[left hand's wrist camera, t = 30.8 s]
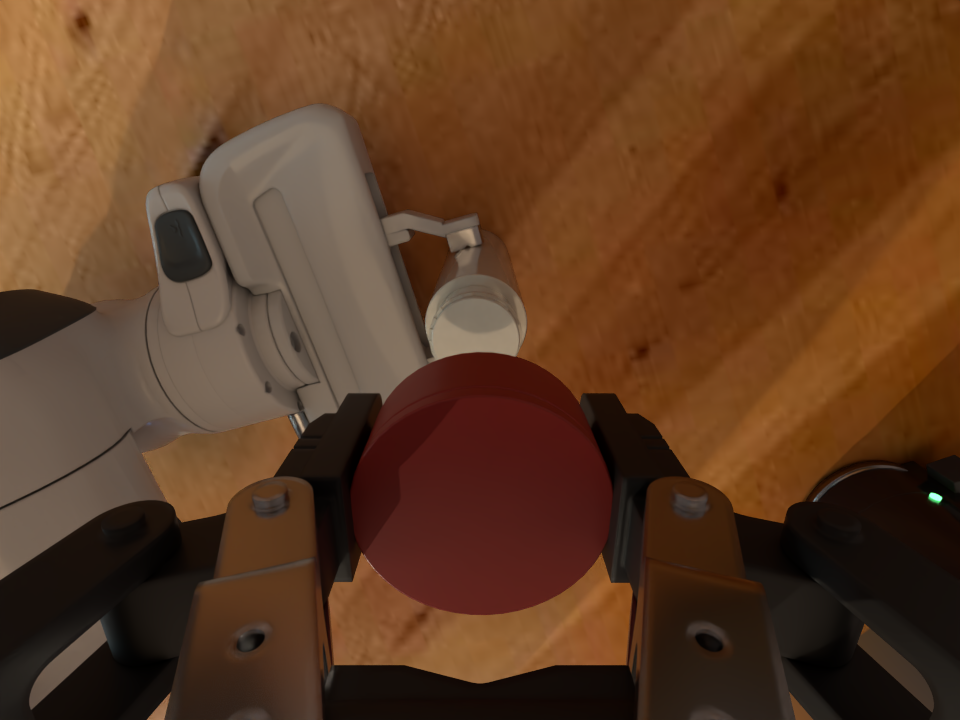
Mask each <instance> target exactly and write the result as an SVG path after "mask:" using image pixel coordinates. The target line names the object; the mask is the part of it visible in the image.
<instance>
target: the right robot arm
mask: <svg viewBox="0 0 960 720" xmlns="http://www.w3.org/2000/svg"><path fill="white" fill-rule="evenodd" d="M146 211H147V217H148V222H149V227H150V232H151V237H152V243H153V248H154V254H155V260H156V267H157V274H158V282H159V286H157V287H156V288H154V289H153V290H151V291H150V292H148V293H147V294H145V295H144V296H142V297H140V298H137V299H133V300H105V301H100V302H96V303H92V304H88V303H85V302H83V301H80V300H77V299H73V298H69V297H65V296H61V295H57V294H53V293H48V292H44V291H39V290H34V289H25V290H12V291H5V292H0V580H1V579H2V578H4V577H5V576H7V575H9V574H10V573H12V572H13V571H15V570H16V569H18V568H19V567H21V566H22V565H24V564H25V563H27V562H28V561H30V560H31V559H33V558H34V557H36V556H37V555H39V554H40V553H42V552H43V551H45V550H46V549H48V548H49V547H51V546H52V545H54V544H55V543H57V542H58V541H60V540H61V539H63V538H64V537H66V536H67V535H69V534H70V533H72V532H73V531H75V530H76V529H78V528H79V527H81V526H82V525H84V524H85V523H87V522H88V521H90V520H91V519H93V518H95V517H96V516H98V515H100V514H102V513H104V512H106V511H108V510H110V509H113V508H115V507H118V506H121V505H124V504H128V503H132V502H137V501H144V500H159V501H164V502H167V501H166V499H165V497H164V495H163V493H162V491H161V489H160V487H159V486H158V484H157V482H156V480H155V478H154V476H153V474H152V472H151V470H150V469H149V467H148V465H147V463H146V461H145V459H144V457H143V455H142V453H143V452H147V451H151V450H154V449H157V448H160V447H163V446H165V445H167V444H169V443H171V442H172V441H174V440H176V439H177V438H179V437H180V436H183V435H185V434H190V433H200V434H213V433H220V432H224V431H228V430H232V429H236V428H240V427H243V426H247V425H251V424H255V423H259V422H263V421H267V420H271V419H275V418H279V417H283V416H286V415H287V416H288V418H289V420H290V422H291V424H292V426H293V428H294V430H295V433H296V435H297V436H298V438H299V439H301V435H302V433H303V432H304V430H305V429H306V427H307V426H308V424H309V423H311V422H312V421H314V420H315V419H317V418H318V417H320V416H321V415H323V414H324V413H336V412H337V411H338V409H339V407H340V406H341V404H342V402H343V400H344V399H345V397H346V395H347V394H348V393H380V395H381V397H382V404H384V402H385V401H386V399H387V398H388V396H389V395H390V394H391V393H392V391H393V390H394V389H395V388H396V387H397V386H398V385H399V384H400V383H401V382H402V381H403V380H404V379H405V378H406V377H408V376H409V375H411V374H412V373H414V372H415V371H416V370H418V369H420V368H422V367H423V366H425V365H427V364H429V363H431V362H434V361H436V360H435V358H434V356H433V354H432V352H431V348H430V343H429V340H428V337H427V334H426V328H425V325H424V322H423V319H422V316H421V313H420V310H419V307H418V304H417V301H416V298H415V295H414V292H413V289H412V286H411V282H410V279H409V276H408V273H407V270H406V267H405V264H404V261H403V258H402V255H401V252H400V249H399V246H398V244H400V243H404V242H407V241H409V240H410V239H411V238H412V237H413V236H414V234H415V231H414V230H416V231H420V232H424V233H428V234H432V235H436V236H440V237H445V238H447V241H448V244H449V248H450V251H451V253H453V252H456V251H460V250H463V249H464V248H465V247H466V246H470V247H474V246H478V245H481V244H483V243H484V238H483V234H482V230H481V226H480V222H479V218H478V215H477V213H472V214H468V215H465V216H461V217H458V218H454V219H451V220H447V221H444V219H442V218H438V217H435V216H431V215H427V214H424V213H420V212H416V211H412V210H409V209H407V210H404V211H400V212H397V213H394V214H390V215H388V213H387V210H386V207H385V204H384V201H383V198H382V195H381V192H380V188H379V185H378V182H377V179H376V176H375V173H374V170H373V167H372V164H371V161H370V158H369V155H368V152H367V149H366V146H365V143H364V140H363V137H362V134H361V131H360V128H359V125H358V123H357V121H356V119H355V118H354V117H352V116H351V115H349V114H347V113H346V112H344V111H342V110H341V109H339V108H337V107H335V106H332V105H329V104H323V103H318V104H312V105H308V106H305V107H302V108H298V109H296V110H293V111H291V112H288V113H285V114H283V115H280V116H278V117H276V118H273V119H271V120H268V121H266V122H264V123H262V124H260V125H258V126H255V127H253V128H251V129H249V130H247V131H246V132H244V133H242V134H240V135H238V136H236V137H234V138H232V139H231V140H229V141H227V142H226V143H224V144H222V145H221V146H220V147H218V148H217V149H216V150H215V151H214V152H213V153H212V154H211V155H210V156H209V157H208V158H207V160H206V161H205V163H204V165H203V167H202V170H201V173H200V176H195V177H188V178H183V179H178V180H174V181H171V182H168V183H165V184H162V185H159V186H157V187H155V188H153V189H151V190H150V191H149V192H148V194H147V197H146ZM177 520H178V523H182V522H181V521H180V520H179V519H178V518H177ZM106 641H107V639H106V636H105V633H104V630H103V627H102V625H101V622H100V620H99V621H98V622H97V623H95V624H94V625H93V626H92V627H91V628H90V629H88V630H87V631H86V632H85V633H84V634H83V635H81V636H80V637H79V638H78V639H77V640H76V641H75V642H73V643H72V644H71V645H70V646H69V647H68V648H66V649H65V650H64V651H63V652H62V653H61V654H60V655H58V656H57V657H56V658H55V659H54V660H53V661H51V662H50V663H49V664H48V665H47V666H46V667H45V669H44V670H43V671H42V672H41V674H40V675H39V676H38V678H37V680H36V681H35V683H34V685H33V687H32V690H31V693H30V698H29V705H30V709H31V710H32V709H33V708H34V707H35V706H36V705H37V704H38V703H39V702H40V701H41V700H42V699H44V698H45V697H46V696H47V695H48V694H49V693H50V692H51V691H52V690H53V689H54V688H56V687H57V686H58V685H59V684H60V683H61V682H62V681H63V680H64V679H65V678H66V677H68V676H69V675H70V674H71V673H72V672H73V671H74V670H75V669H76V668H77V667H78V666H80V665H81V664H82V663H83V662H84V661H85V660H86V659H87V658H88V657H89V656H90V655H92V654H93V653H94V652H95V651H96V650H97V649H98V648H99V647H100V646H101V645H102V644H104V643H105V642H106Z"/></svg>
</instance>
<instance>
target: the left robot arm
mask: <svg viewBox="0 0 960 720" xmlns="http://www.w3.org/2000/svg"><path fill="white" fill-rule="evenodd" d="M382 406H383V404H382V397H381V395H380V393H348V394H347V395H346V397H345V399H344V400H343V402H342V404H341V406H340V407H339V409H338V411H337V412H336V413H324V414H323V415H321V416H320V417H318V418H317V419H315V420H314V421H312V422H311V423H309V424H308V426H307V427H306V429H305V430H304V432H303V433H302V435H301V439H298V441H297V442H296V444H295V445H294V449H292V450H291V451H290V453H289V454H288V456H287V457H286V459H285V460H284V462H283V463H282V465H281V466H280V468H279V469H278V471H277V472H276V474H275V476H274V477H273V478H268V479H264V480H261V481H258V482H255V483H253V484H251V485H249V486H247V487H245V488H244V489H242V490H240V491H239V492H238V493H237V494H236V495H235V496H234V497H233V498H232V499H231V500H230V502H229V504H228V507H227V511H226V513H225V514H221V515H217V516H212V517H207V518H202V519H197V520H192V521H187V522H182V523H178V520H177V516H176V512H175V509H174V507H173V506H172V505H171V504H169V503H167V502H164V501H159V500H144V501H137V502H132V503H128V504H124V505H121V506H118V507H115V508H113V509H110V510H108V511H106V512H104V513H102V514H100V515H98V516H96V517H95V518H93V519H91V520H90V521H88V522H87V523H85V524H84V525H82V526H81V527H79V528H78V529H76V530H75V531H73V532H72V533H70V534H69V535H67V536H66V537H64V538H63V539H61V540H60V541H58V542H57V543H55V544H54V545H52V546H51V547H49V548H48V549H46V550H45V551H43V552H42V553H40V554H39V555H37V556H36V557H34V558H33V559H31V560H30V561H28V562H27V563H25V564H24V565H22V566H21V567H19V568H18V569H16V570H15V571H13V572H12V573H10V574H9V575H7V576H5V577H4V578H2V579H1V580H0V720H147V719H148V717H149V716H150V715H151V714H152V713H153V712H154V710H155V709H156V708H157V707H158V706H159V705H160V703H161V702H162V701H163V700H164V699H165V698H166V697H167V695H168V694H169V693H170V692H171V694H170V698H169V703H168V707H167V711H166V715H165V720H795V715H794V711H793V707H792V703H791V698H790V694H789V692H790V693H791V694H792V695H793V696H794V698H795V699H796V700H797V701H798V702H799V703H800V705H801V706H802V707H803V708H804V709H805V710H806V712H807V713H808V714H809V715H810V716H811V717H812V719H813V720H960V458H959V457H957V456H956V455H952V456H950V457H947V458H944V459H941V460H938V461H935V462H932V463H929V464H927V465H926V467H927V470H926V469H925V468H923V467H922V466H920V465H919V464H917V463H916V462H914V461H911V462H908V463H905V464H901V465H899V464H896V463H892V462H887V461H867V462H861V463H857V464H854V465H850V466H848V467H845V468H843V469H841V470H839V471H837V472H835V473H833V474H832V475H830V476H829V477H827V478H826V479H825V480H823V481H822V482H821V483H820V484H819V485H818V486H817V487H816V488H815V489H814V490H813V491H812V492H811V494H810V495H809V497H808V498H807V500H806V501H805V502H799V503H796V504H794V505H792V506H790V507H789V508H788V511H787V513H786V517H785V521H784V524H783V523H778V522H773V521H768V520H763V519H758V518H753V517H748V516H744V515H740V514H737V513H734V511H733V507H732V504H731V502H730V500H729V499H728V498H727V497H726V496H725V495H724V494H723V493H722V492H721V491H720V490H718V489H716V488H715V487H713V486H711V485H709V484H707V483H705V482H702V481H699V480H696V479H692V478H690V477H689V475H688V474H687V472H686V471H685V469H684V468H683V466H682V465H681V463H680V462H679V460H678V459H677V457H676V456H675V455H674V453H673V452H672V450H670V449H669V446H668V444H667V443H666V441H665V440H664V439H662V435H661V434H660V432H659V431H658V429H657V428H656V426H655V425H654V424H653V423H651V422H650V421H648V420H647V419H645V418H644V417H642V416H641V415H639V414H627V413H626V411H625V409H624V408H623V406H622V404H621V403H620V401H619V399H618V398H617V396H616V395H615V394H614V393H583V394H582V396H581V401H580V406H581V408H582V410H583V412H584V414H585V416H586V418H587V421H588V423H589V426H590V428H591V430H592V433H593V435H594V437H595V440H596V442H597V444H598V447H599V449H600V451H601V454H602V456H603V459H604V461H605V463H606V466H607V468H608V471H609V474H610V477H611V480H612V484H613V499H612V508H611V517H610V526H609V534H608V540H607V542H606V544H605V546H604V548H603V550H602V555H603V558H604V561H605V565H606V568H607V571H608V574H609V577H610V580H611V583H630V584H631V587H632V590H633V594H632V601H631V608H630V620H629V632H628V645H627V657H626V665H555V666H551V667H547V668H543V669H539V670H536V671H532V672H528V673H524V674H520V675H516V676H512V677H508V678H504V679H500V680H496V681H493V682H489V683H483V684H477V683H471V682H467V681H464V680H460V679H456V678H452V677H448V676H444V675H440V674H436V673H432V672H428V671H424V670H421V669H417V668H413V667H409V666H405V665H334V657H333V645H332V632H331V620H330V609H329V601H328V597H329V594H330V591H331V588H332V586H333V583H334V582H352V581H353V578H354V574H355V571H356V568H357V565H358V561H359V558H360V555H361V552H362V551H361V550H360V548H359V546H358V544H357V541H356V539H355V534H354V526H353V517H352V507H351V497H350V488H351V483H352V479H353V475H354V473H355V470H356V468H357V466H358V463H359V461H360V458H361V456H362V453H363V451H364V448H365V446H366V443H367V441H368V438H369V436H370V433H371V431H372V428H373V426H374V424H375V421H376V419H377V416H378V414H379V411H380V409H381V407H382ZM99 620H100V622H101V625H102V627H103V630H104V633H105V636H106V639H107V641H106V642H105V643H104V644H102V645H101V646H100V647H99V648H98V649H97V650H96V651H95V652H94V653H93V654H92V655H90V656H89V657H88V658H87V659H86V660H85V661H84V662H83V663H82V664H81V665H80V666H78V667H77V668H76V669H75V670H74V671H73V672H72V673H71V674H70V675H69V676H68V677H66V678H65V679H64V680H63V681H62V682H61V683H60V684H59V685H58V686H57V687H56V688H54V689H53V690H52V691H51V692H50V693H49V694H48V695H47V696H46V697H45V698H44V699H42V700H41V701H40V702H39V703H38V704H37V705H36V706H35V707H34V708H33V709H32V710H31V709H30V705H29V698H30V693H31V690H32V687H33V685H34V683H35V681H36V680H37V678H38V676H39V675H40V674H41V672H42V671H43V670H44V669H45V667H46V666H47V665H48V664H49V663H50V662H51V661H53V660H54V659H55V658H56V657H57V656H58V655H60V654H61V653H62V652H63V651H64V650H65V649H66V648H68V647H69V646H70V645H71V644H72V643H73V642H75V641H76V640H77V639H78V638H79V637H80V636H81V635H83V634H84V633H85V632H86V631H87V630H88V629H90V628H91V627H92V626H93V625H94V624H95V623H97V622H98V621H99ZM864 623H865V624H866V625H867V626H868V627H869V628H870V629H872V630H873V631H874V632H875V633H876V634H877V635H879V636H880V637H881V638H882V639H883V640H884V641H885V642H887V643H888V644H889V645H890V646H891V647H892V648H894V649H895V650H896V651H897V652H898V653H899V654H900V655H902V656H903V657H904V658H905V659H906V660H907V661H909V662H910V663H911V664H912V665H913V666H914V667H915V668H916V669H917V670H918V671H919V672H920V673H921V675H922V676H923V677H924V679H925V680H926V682H927V684H928V685H929V687H930V690H931V692H932V695H933V699H934V709H933V712H931V711H930V710H928V709H927V708H926V707H925V706H924V705H923V704H922V703H921V702H920V701H919V700H918V699H916V698H915V697H914V696H913V695H912V694H911V693H910V692H909V691H908V690H907V689H906V688H904V687H903V686H902V685H901V684H900V683H899V682H898V681H897V680H896V679H895V678H894V677H892V676H891V675H890V674H889V673H888V672H887V671H886V670H885V669H884V668H883V667H882V666H880V665H879V664H878V663H877V662H876V661H875V660H874V659H873V658H872V657H871V656H870V655H868V654H867V653H866V652H865V651H864V650H863V649H862V648H861V647H860V646H859V645H858V644H857V643H858V640H859V637H860V634H861V631H862V629H863V626H864Z"/></svg>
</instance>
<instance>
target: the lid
mask: <svg viewBox="0 0 960 720" xmlns="http://www.w3.org/2000/svg"><path fill="white" fill-rule="evenodd" d="M350 497H351V507H352V517H353V526H354V534H355V539H356V541H357V544H358V546H359V548H360V550H361V551H362V553H363V555H364V557H365V558H366V560H367V561H368V562H369V564H370V565H371V566H372V567H373V569H374V570H375V571H376V572H377V573H378V574H379V575H380V576H381V577H382V578H383V579H384V580H385V581H386V582H387V583H389V584H390V585H391V586H393V587H394V588H395V589H397V590H398V591H400V592H401V593H403V594H405V595H406V596H408V597H410V598H412V599H414V600H416V601H418V602H420V603H423V604H425V605H428V606H431V607H434V608H437V609H440V610H445V611H449V612H454V613H461V614H469V615H492V614H503V613H509V612H514V611H519V610H522V609H526V608H529V607H533V606H535V605H538V604H540V603H543V602H545V601H547V600H549V599H551V598H553V597H555V596H557V595H559V594H560V593H562V592H563V591H565V590H566V589H568V588H569V587H571V586H572V585H573V584H574V583H576V582H577V581H578V580H579V579H580V578H581V577H582V576H584V575H585V573H586V572H587V571H588V570H589V569H590V568H591V567H592V565H593V564H594V563H595V561H596V560H597V558H598V557H599V555H600V554H601V552H602V550H603V548H604V546H605V544H606V542H607V540H608V534H609V526H610V517H611V508H612V499H613V484H612V480H611V477H610V474H609V471H608V468H607V466H606V463H605V461H604V459H603V456H602V454H601V451H600V449H599V447H598V444H597V442H596V440H595V437H594V435H593V433H592V430H591V428H590V426H589V423H588V421H587V418H586V416H585V414H584V412H583V410H582V408H581V406H580V404H579V402H578V401H577V399H576V398H575V397H574V395H573V394H572V393H571V391H570V390H569V389H568V388H567V387H566V386H565V385H564V384H563V383H562V382H561V381H560V380H559V379H557V378H556V377H555V376H554V375H552V374H551V373H550V372H548V371H547V370H545V369H543V368H541V367H540V366H538V365H536V364H534V363H531V362H529V361H527V360H524V359H522V358H518V357H514V356H511V355H507V354H500V353H493V352H472V353H462V354H457V355H453V356H448V357H445V358H442V359H439V360H436V361H434V362H431V363H429V364H427V365H425V366H423V367H422V368H420V369H418V370H416V371H415V372H414V373H412V374H411V375H409V376H408V377H406V378H405V379H404V380H403V381H402V382H401V383H400V384H399V385H398V386H397V387H396V388H395V389H394V390H393V391H392V393H391V394H390V395H389V396H388V398H387V399H386V401H385V402H384V404H383V406H382V407H381V409H380V411H379V414H378V416H377V419H376V421H375V424H374V426H373V428H372V431H371V433H370V436H369V438H368V441H367V443H366V446H365V448H364V451H363V453H362V456H361V458H360V461H359V463H358V466H357V468H356V470H355V473H354V475H353V479H352V483H351V488H350Z"/></svg>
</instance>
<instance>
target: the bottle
mask: <svg viewBox="0 0 960 720" xmlns="http://www.w3.org/2000/svg"><path fill="white" fill-rule="evenodd" d="M482 234H483V238H484V243H483V244H481V245H478V246H474V247H470V246H466V247H465V248H464V249H463V250H460V251H456V252H453V253H451V251H450V248H449V251H448V253H447V256H446V259H445V262H444V264H443V267H442V270H441V273H440V275H439V278H438V281H437V283H436V286H435V289H434V292H433V294H432V297H431V300H430V303H429V305H428V308H427V312H426V318H425V328H426V334H427V337H428V340H429V343H430V348H431V352H432V354H433V356H434V358H435V360H439V359H442V358H445V357H448V356H453V355H457V354H462V353H472V352H493V353H500V354H507V355H511V356H514V357H516V356H517V354H518V352H519V349H520V347H521V345H522V343H523V341H524V339H525V336H526V331H527V315H526V311H525V307H524V304H523V301H522V297H521V294H520V291H519V287H518V284H517V280H516V277H515V274H514V270H513V267H512V264H511V260H510V257H509V254H508V251H507V248H506V246H505V244H504V243H503V241H502V240H501V239H500V238H499V237H498V236H496V235H495V234H493V233H491V232H489V231H486V230H482Z"/></svg>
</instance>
